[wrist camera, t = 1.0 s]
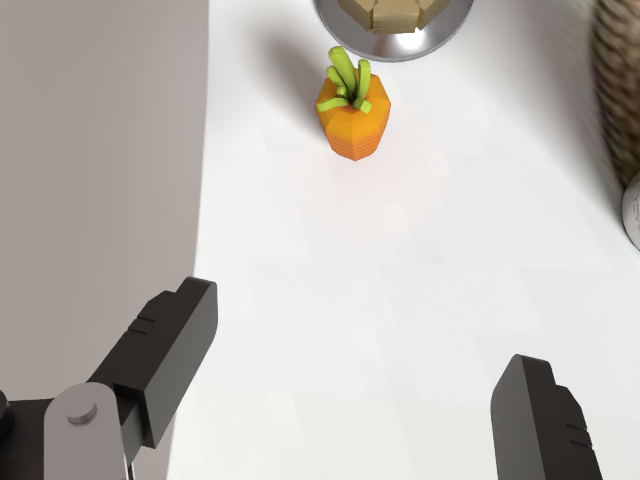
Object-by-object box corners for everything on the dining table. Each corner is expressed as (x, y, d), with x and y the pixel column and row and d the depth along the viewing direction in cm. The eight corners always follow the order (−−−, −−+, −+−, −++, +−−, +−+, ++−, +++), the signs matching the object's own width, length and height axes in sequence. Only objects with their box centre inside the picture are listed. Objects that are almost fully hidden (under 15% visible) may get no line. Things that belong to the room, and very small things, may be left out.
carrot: (385, 178, 39) (396, 112, 24) (328, 179, 39) (303, 116, 24) (384, 122, 39) (394, 23, 24) (328, 124, 40) (304, 29, 25)
